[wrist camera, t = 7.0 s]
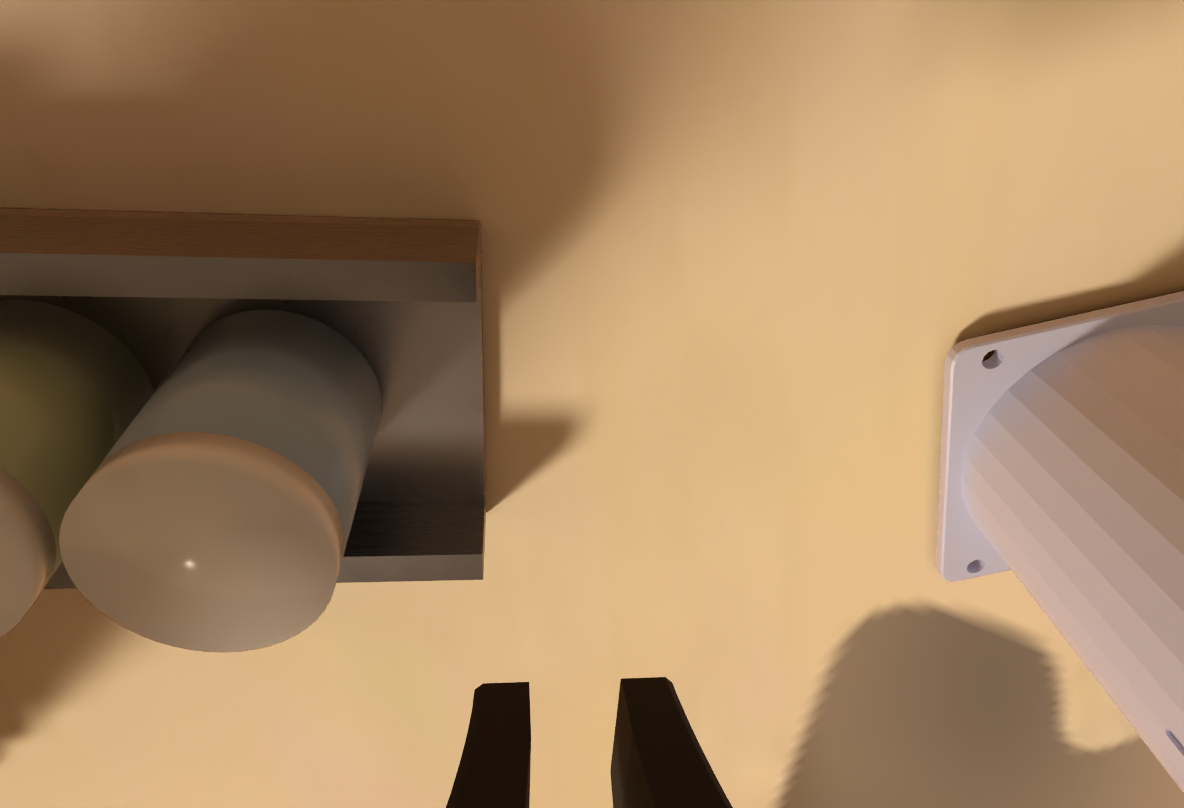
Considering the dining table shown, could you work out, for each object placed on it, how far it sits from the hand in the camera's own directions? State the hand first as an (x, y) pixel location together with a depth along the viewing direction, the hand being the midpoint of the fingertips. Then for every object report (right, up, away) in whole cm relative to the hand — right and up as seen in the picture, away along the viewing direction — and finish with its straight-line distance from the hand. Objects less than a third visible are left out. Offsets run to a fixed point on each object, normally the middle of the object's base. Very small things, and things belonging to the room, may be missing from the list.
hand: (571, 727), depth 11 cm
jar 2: (-7, +5, +7) cm, 11 cm away
